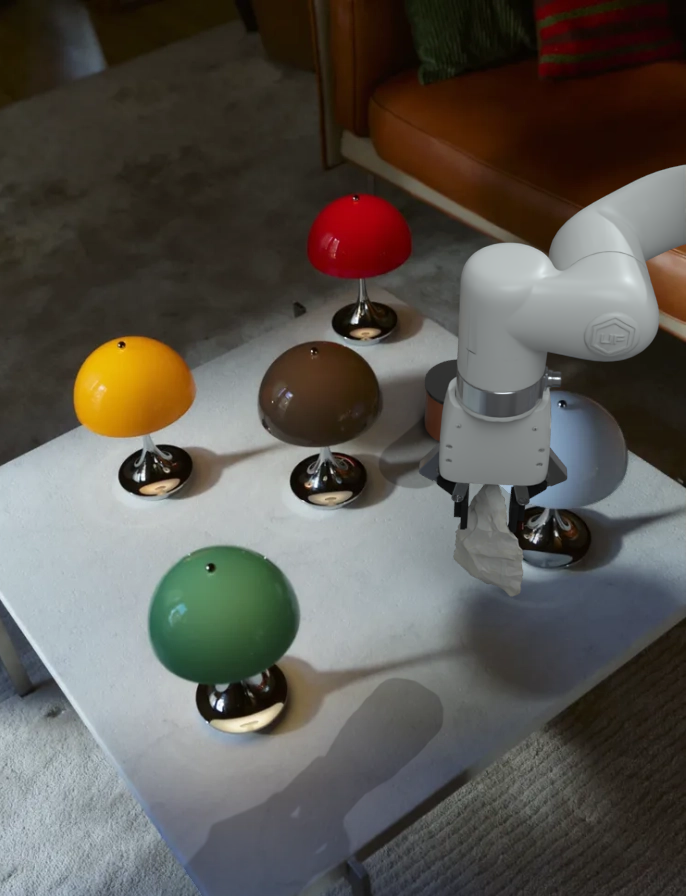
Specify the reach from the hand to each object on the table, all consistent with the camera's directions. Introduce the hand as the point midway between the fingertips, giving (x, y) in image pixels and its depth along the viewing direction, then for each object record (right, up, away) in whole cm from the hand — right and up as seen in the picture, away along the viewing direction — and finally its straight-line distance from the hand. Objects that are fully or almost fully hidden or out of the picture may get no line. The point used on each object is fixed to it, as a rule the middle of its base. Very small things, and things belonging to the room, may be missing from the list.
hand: (488, 519), depth 96 cm
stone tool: (+1, -7, +7) cm, 10 cm away
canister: (+3, +13, +37) cm, 39 cm away
